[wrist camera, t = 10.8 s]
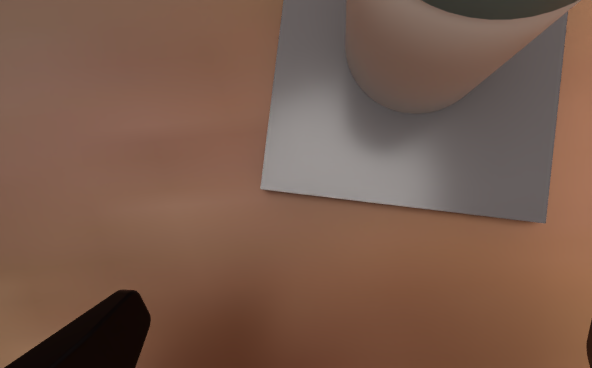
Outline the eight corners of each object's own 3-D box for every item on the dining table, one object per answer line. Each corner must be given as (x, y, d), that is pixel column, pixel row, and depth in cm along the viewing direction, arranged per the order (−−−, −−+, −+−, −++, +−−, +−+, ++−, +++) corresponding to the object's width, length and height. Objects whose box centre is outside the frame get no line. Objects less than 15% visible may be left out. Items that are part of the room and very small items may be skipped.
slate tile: (532, 221, 18) (545, 223, 17) (265, 190, 19) (260, 188, 18) (565, -92, 19) (581, -113, 17) (301, -105, 20) (299, -125, 18)
